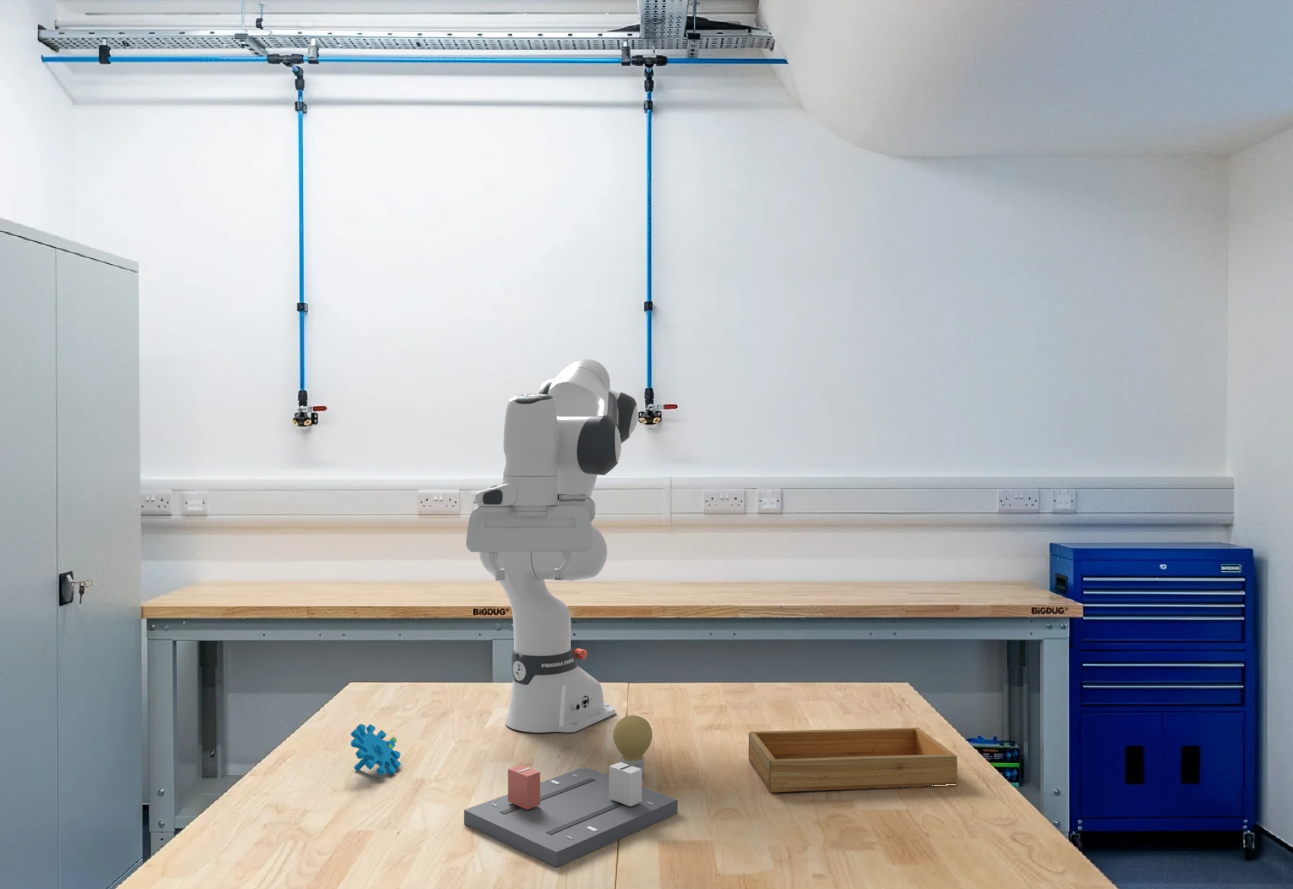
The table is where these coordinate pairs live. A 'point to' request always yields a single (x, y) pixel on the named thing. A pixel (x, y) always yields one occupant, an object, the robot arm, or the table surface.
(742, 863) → the table surface
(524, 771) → the red fader
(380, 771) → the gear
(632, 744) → the light bulb
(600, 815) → the console
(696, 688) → the table surface
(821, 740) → the tray
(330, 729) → the table surface
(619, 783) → the grey fader
